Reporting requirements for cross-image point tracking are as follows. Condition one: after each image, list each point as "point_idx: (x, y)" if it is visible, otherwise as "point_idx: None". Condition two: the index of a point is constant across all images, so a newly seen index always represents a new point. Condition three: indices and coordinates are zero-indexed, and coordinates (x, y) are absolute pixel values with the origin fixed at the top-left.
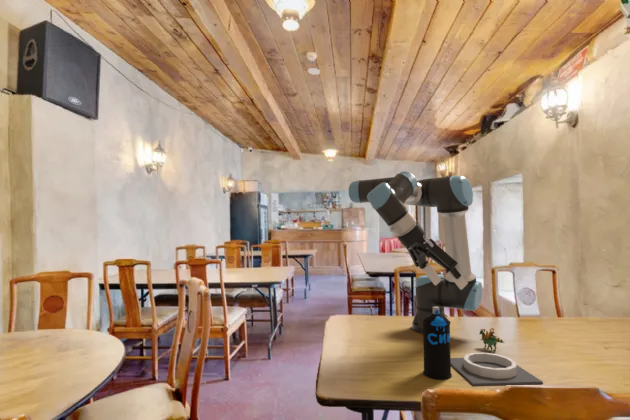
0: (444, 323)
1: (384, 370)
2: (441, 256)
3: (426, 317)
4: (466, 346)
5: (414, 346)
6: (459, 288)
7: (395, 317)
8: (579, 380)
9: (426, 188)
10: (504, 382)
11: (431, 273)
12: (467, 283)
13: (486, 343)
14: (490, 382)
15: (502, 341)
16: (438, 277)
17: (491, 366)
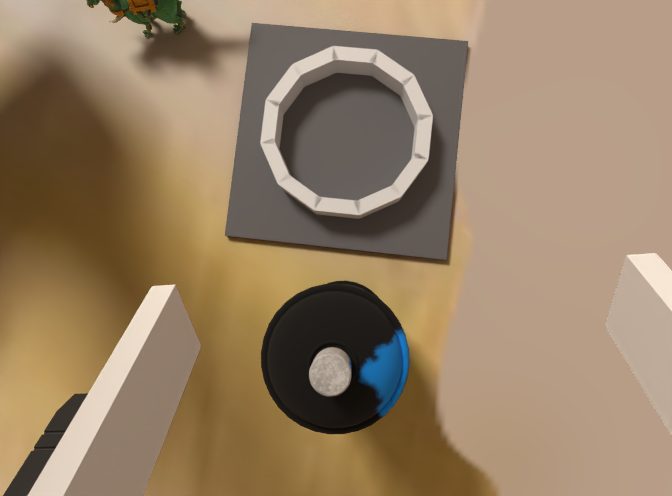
0: (399, 344)
1: (279, 492)
2: None
3: (327, 419)
4: (110, 84)
5: (68, 281)
6: (612, 335)
7: None
8: None
9: None
10: (455, 159)
11: (141, 423)
12: (654, 259)
13: (152, 20)
14: (448, 201)
15: None
16: (162, 322)
17: (328, 120)
